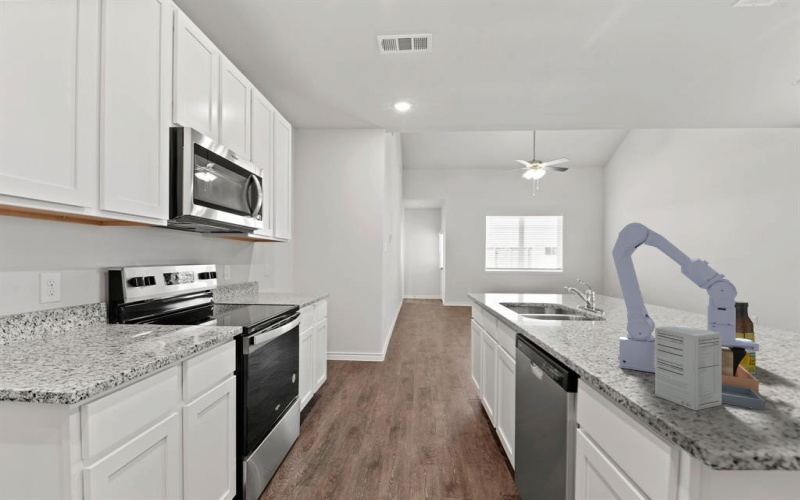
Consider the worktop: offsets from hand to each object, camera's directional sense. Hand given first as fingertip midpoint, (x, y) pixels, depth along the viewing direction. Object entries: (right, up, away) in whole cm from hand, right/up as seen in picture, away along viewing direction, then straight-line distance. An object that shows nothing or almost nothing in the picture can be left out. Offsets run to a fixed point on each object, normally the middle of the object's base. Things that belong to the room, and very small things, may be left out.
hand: (720, 373), depth 97 cm
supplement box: (-19, -2, -12) cm, 23 cm away
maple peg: (0, -2, 0) cm, 2 cm away
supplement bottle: (+15, -3, +9) cm, 17 cm away
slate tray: (-7, -2, -11) cm, 14 cm away
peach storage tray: (0, -2, 0) cm, 2 cm away
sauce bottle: (+21, -3, +16) cm, 27 cm away
